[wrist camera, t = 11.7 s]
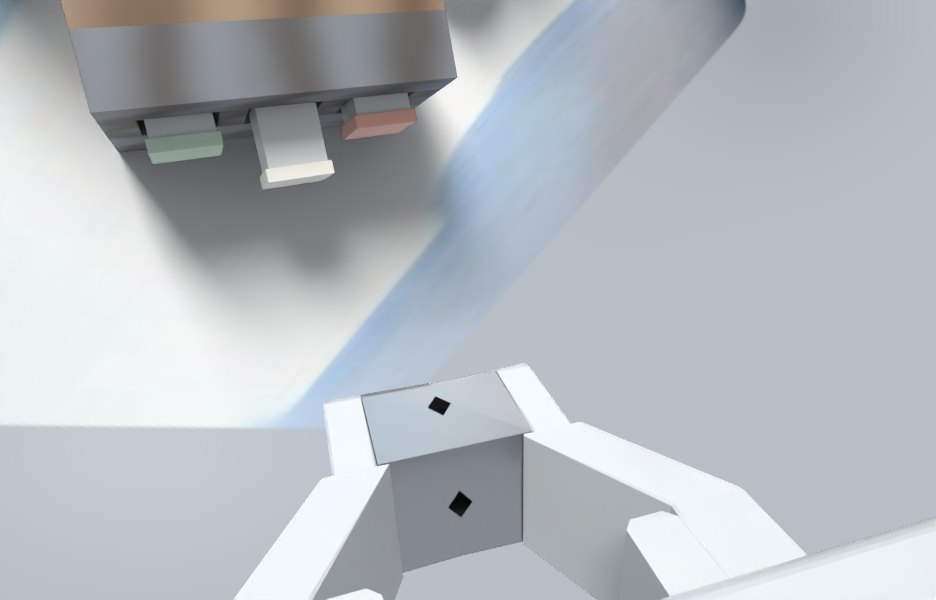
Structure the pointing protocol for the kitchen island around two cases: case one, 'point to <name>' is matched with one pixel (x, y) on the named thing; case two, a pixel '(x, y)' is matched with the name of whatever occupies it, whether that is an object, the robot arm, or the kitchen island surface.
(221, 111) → the console
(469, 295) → the kitchen island surface
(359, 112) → the coral button
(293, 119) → the cream button
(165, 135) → the sage button
